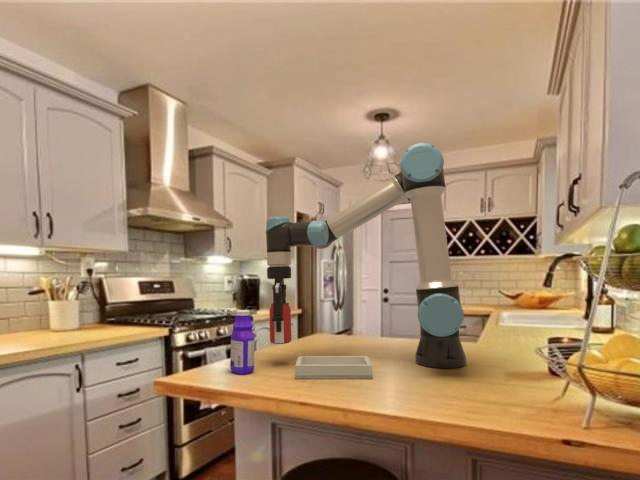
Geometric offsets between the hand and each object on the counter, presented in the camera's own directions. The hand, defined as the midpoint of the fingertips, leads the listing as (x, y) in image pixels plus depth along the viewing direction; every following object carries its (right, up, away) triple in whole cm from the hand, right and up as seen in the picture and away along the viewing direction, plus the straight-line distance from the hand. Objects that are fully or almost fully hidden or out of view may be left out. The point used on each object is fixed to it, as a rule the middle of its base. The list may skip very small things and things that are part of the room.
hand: (280, 340), depth 126 cm
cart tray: (+16, -6, -12) cm, 21 cm away
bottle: (-10, -7, -10) cm, 16 cm away
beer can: (0, -1, 0) cm, 1 cm away
